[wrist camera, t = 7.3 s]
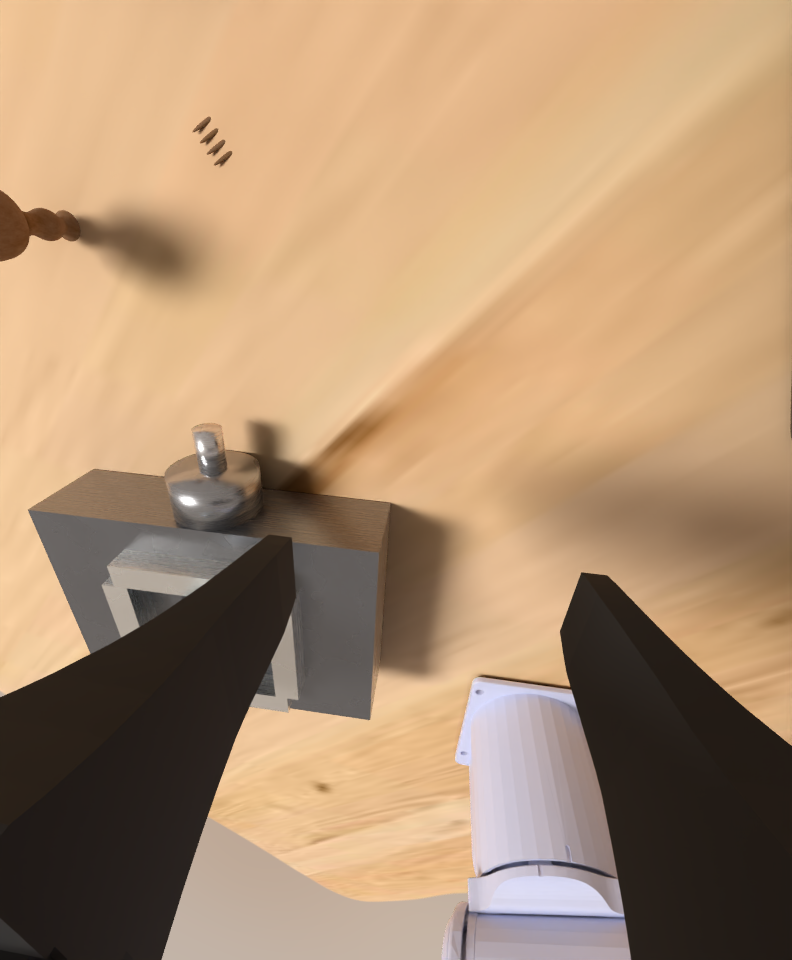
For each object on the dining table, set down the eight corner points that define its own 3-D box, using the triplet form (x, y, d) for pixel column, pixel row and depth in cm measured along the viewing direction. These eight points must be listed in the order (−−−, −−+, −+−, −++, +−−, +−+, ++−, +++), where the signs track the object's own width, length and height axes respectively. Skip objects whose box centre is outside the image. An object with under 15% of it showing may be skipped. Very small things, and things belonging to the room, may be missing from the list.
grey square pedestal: (380, 659, 27) (366, 741, 23) (144, 626, 28) (86, 698, 24) (395, 429, 19) (378, 485, 15) (69, 396, 21) (-39, 438, 16)
